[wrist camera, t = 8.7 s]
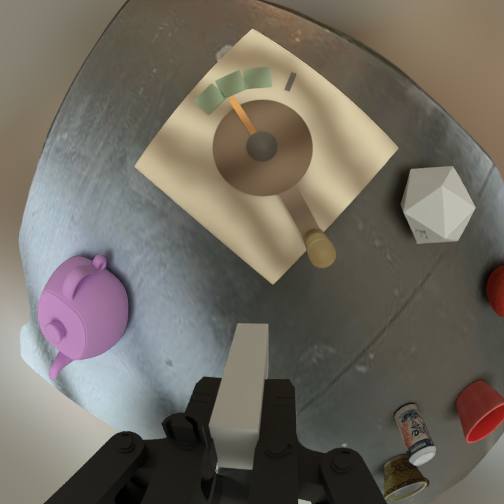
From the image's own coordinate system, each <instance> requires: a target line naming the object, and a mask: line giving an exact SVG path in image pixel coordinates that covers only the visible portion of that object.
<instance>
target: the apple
mask: <svg viewBox="0 0 504 504" xmlns="http://www.w3.org/2000/svg"><path fill="white" fill-rule="evenodd" d="M486 293H487V297H488V301H489V302H490V304H491V306H492V308H493V309H494V311H495V312H496V313H497V314H498V315H499V316H500V317H504V265H503V266H500V267H498V268H496V269H495V270H494V271H493V272H492V273H491V275H490V276H489V278H488V281H487V284H486Z"/></svg>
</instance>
